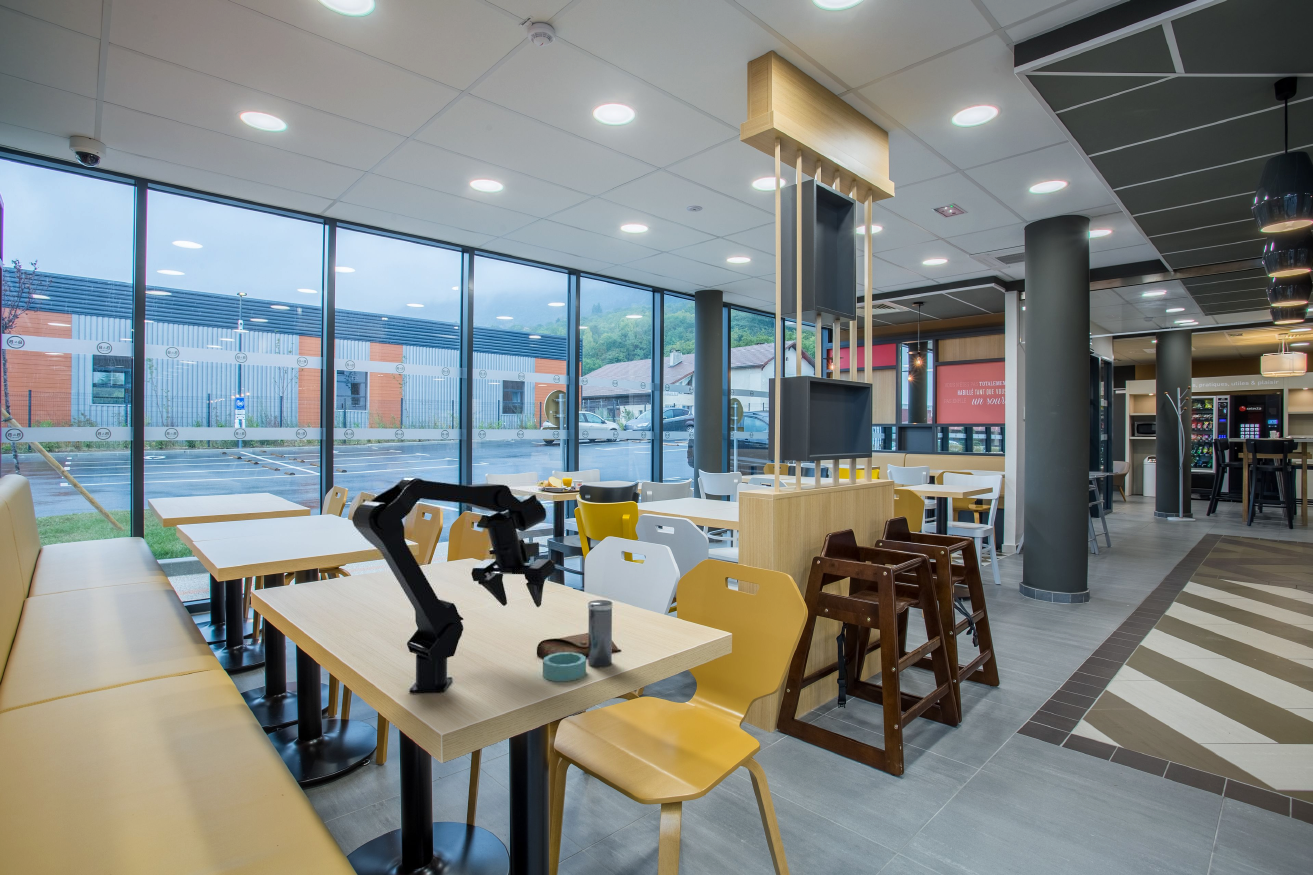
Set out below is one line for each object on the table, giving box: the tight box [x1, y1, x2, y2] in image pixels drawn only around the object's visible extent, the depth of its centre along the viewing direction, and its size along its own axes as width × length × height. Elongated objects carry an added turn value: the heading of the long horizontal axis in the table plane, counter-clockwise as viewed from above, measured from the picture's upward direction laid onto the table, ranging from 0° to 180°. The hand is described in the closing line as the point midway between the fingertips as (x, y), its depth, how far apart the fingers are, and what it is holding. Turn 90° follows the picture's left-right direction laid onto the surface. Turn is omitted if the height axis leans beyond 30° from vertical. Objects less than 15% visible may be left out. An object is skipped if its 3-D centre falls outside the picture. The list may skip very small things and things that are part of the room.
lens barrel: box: [587, 599, 613, 669], centre depth 136 cm, size 5×5×13 cm
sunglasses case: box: [536, 632, 622, 661], centre depth 143 cm, size 18×7×7 cm
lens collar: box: [542, 652, 587, 682], centre depth 130 cm, size 9×9×3 cm
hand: (521, 605), depth 139 cm, fingers open, 9 cm apart
